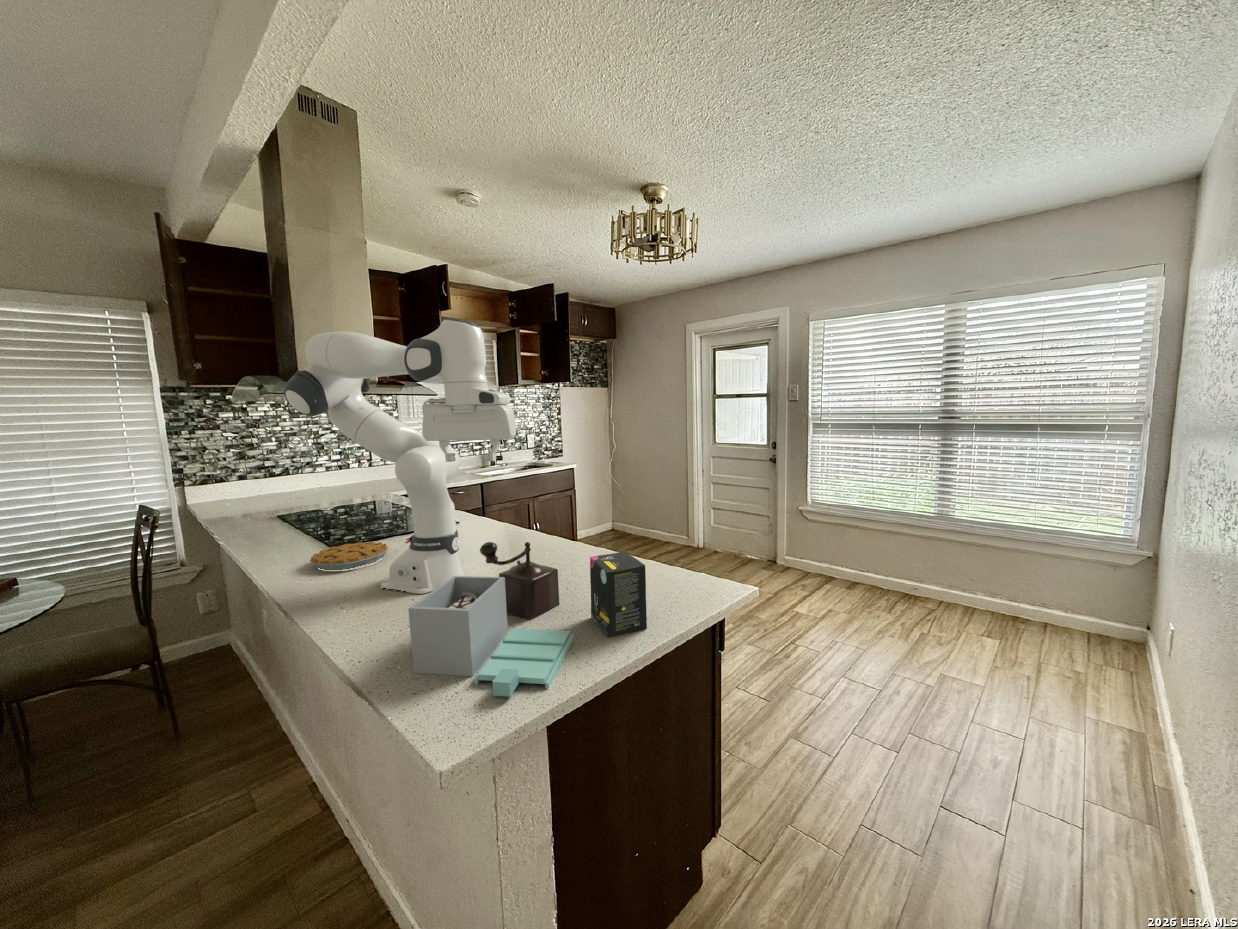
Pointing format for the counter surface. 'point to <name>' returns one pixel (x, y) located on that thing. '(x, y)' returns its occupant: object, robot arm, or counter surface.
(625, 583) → the tampon box
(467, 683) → the counter surface
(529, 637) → the lid
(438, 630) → the tub
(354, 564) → the pie
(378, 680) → the counter surface
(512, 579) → the manual coffee grinder
